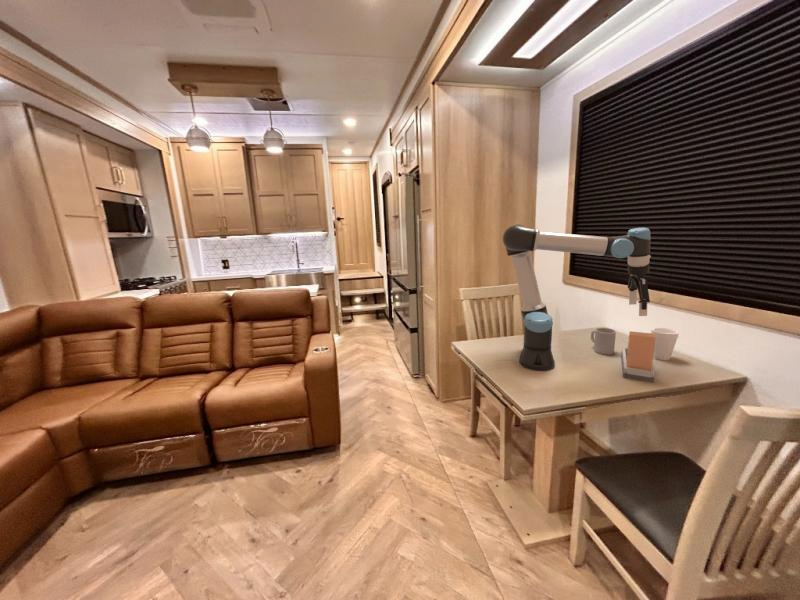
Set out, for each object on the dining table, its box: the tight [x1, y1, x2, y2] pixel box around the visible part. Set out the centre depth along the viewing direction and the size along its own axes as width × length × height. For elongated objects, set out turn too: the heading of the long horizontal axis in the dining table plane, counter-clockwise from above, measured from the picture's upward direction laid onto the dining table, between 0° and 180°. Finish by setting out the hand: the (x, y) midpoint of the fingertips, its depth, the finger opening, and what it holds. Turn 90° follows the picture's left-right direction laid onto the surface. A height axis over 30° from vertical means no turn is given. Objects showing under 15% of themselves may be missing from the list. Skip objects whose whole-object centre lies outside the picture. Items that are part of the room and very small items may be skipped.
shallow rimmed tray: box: [620, 347, 655, 384], centre depth 137 cm, size 25×10×4 cm, turn 147°
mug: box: [590, 327, 617, 355], centre depth 157 cm, size 12×8×11 cm
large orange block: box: [626, 330, 656, 370], centre depth 129 cm, size 6×8×16 cm
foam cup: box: [650, 327, 680, 361], centre depth 145 cm, size 10×9×13 cm
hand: (637, 309), depth 143 cm, fingers open, 13 cm apart
